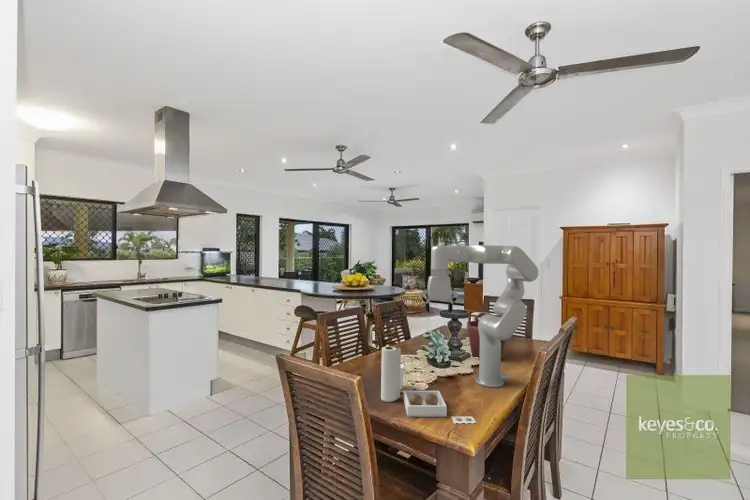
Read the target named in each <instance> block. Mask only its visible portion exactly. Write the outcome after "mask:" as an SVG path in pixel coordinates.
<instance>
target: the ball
mask: <svg viewBox="0 0 750 500" xmlns="http://www.w3.org/2000/svg"><path fill="white" fill-rule="evenodd" d="M425 402H426V404H427V405H437V404H438V398H437V396H436V395H435V394H428V395H427V396H426V398H425Z"/></svg>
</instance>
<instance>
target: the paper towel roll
mask: <svg viewBox="0 0 750 500" xmlns="http://www.w3.org/2000/svg"><path fill="white" fill-rule="evenodd" d="M401 348H402V347H398V348H396V347H394V346H383V347H381V367H380V368H381V371H380V373H381V374H380V376H381V377H380V378H381V379H380V383H381V384H380V399H381V401H383V402H387V403H389V402H390V403H391V402H394V401H396V400H398V399H400V398H401V390H400V372H401V364H402V362H401V361H402V360H401V359H402V357H401V355H402V349H401Z"/></svg>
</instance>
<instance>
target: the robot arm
mask: <svg viewBox="0 0 750 500" xmlns="http://www.w3.org/2000/svg"><path fill="white" fill-rule="evenodd" d="M430 251H431V252H430V253H431V257H430V258H431V259H430V261H431V262H430V275H429V276H428V280H427V286H426V287H427V288H426V289H425V290H423V291H421V292H419V295H420V298H421V300H423V302H424V303H425V306H424V307H425V311H426V313H429V314H430V302H431V300H446V301H448V303H447V311H448V313H449V314H451V313H452V311H453V309H454V308H453V306H454V305H453V304H454V303H455V302H456V301H457V300H458V297H459V296H460V294H459V292H456V291H454V290H452V284H451V283H452V282H451V278H450V275H452V271H451V270H449V262H451V263H465V262H467V263H474V264H482V265H483V264H488V265H489V264H495V265H496V264H497V265H499V264H501V265H507V266H506V268H505V275H506V279H507V285H506V287H505V288H504V290H503V291H502V293H501V294H500V296H499V297H498V298H497V299H496V301H495V302H494V304H493V312H494V313H495V314H496V315H497V316H496V315H494V314H492V315H486V314H484V315H482V316H481V317H479V318H478V319H479V322H478V330H479V337H480V357H479V359H478V360H479V363H478V364H479V366H478V375H477V376H476V377H475V383H477V384H478V385H480V386H483V387H487V388H501V387H503V386H505V385H504V384H505V383H504V381H505V380H508V381H510V380H511V379H512V377H511V375H507V374H506V373H501V362H502V361H501V360H502V357H501V342H500V340H505V341H507V340H509V339H510V338H511V337H513V335H514V334H515V332H516V331H517V330H518V328H519V327H520V325H521V324H522V322H523V321H524V320H525V317H526V315H527V307H526V304H525V303H524V302H523V301H521V300H522V299H523V297H524V295H525V283H524V282H528V283H529V282H530V283H531V282H534V281H536V280H537V279H538V276H539V269H538V266H537V265H536V264H535V263H534V261H533V260H532V259H531V257H529V256H528V255H527V253H526V252H525V251H524V250H523V249H522V248H520V247H519V246H517V245H490V244H489V245H488V244H487V245H486V244H477V245H455V244H453V245H452V244H448V245H433V246H432V247H431V250H430ZM424 295H426V296H427V297H426V298H425V296H424ZM452 295H453V298H452Z"/></svg>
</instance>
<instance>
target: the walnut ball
mask: <svg viewBox="0 0 750 500" xmlns="http://www.w3.org/2000/svg"><path fill="white" fill-rule="evenodd" d="M422 402H423V399H422V397H421V396H420V395H419V394H413V395H412V396H411V397H410V403H411V405H422Z"/></svg>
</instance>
